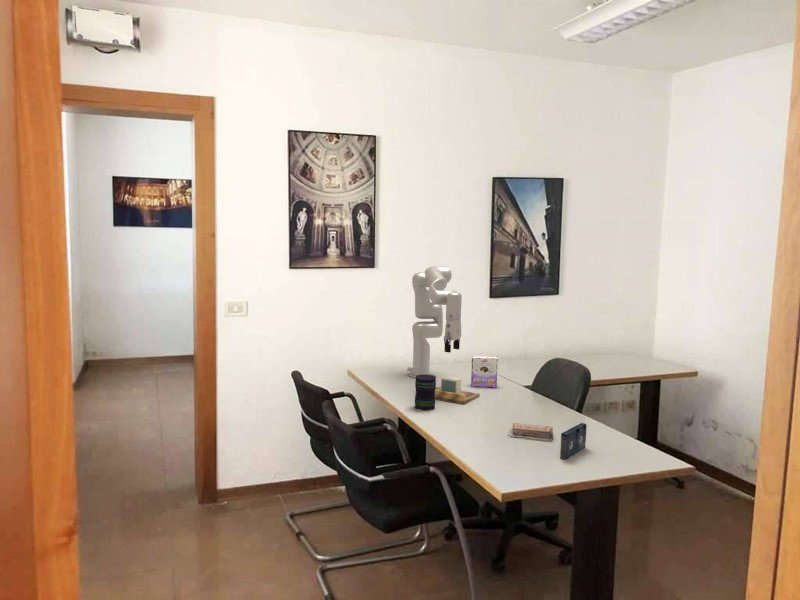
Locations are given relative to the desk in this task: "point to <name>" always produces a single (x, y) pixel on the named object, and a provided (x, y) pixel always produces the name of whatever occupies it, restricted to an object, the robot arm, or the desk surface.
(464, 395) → the shelf board
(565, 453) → the vhs cassette tape
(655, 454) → the desk surface
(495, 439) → the desk surface
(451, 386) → the cream carton
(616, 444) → the desk surface
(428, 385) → the storage jar
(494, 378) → the candy box
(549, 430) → the packaged product
